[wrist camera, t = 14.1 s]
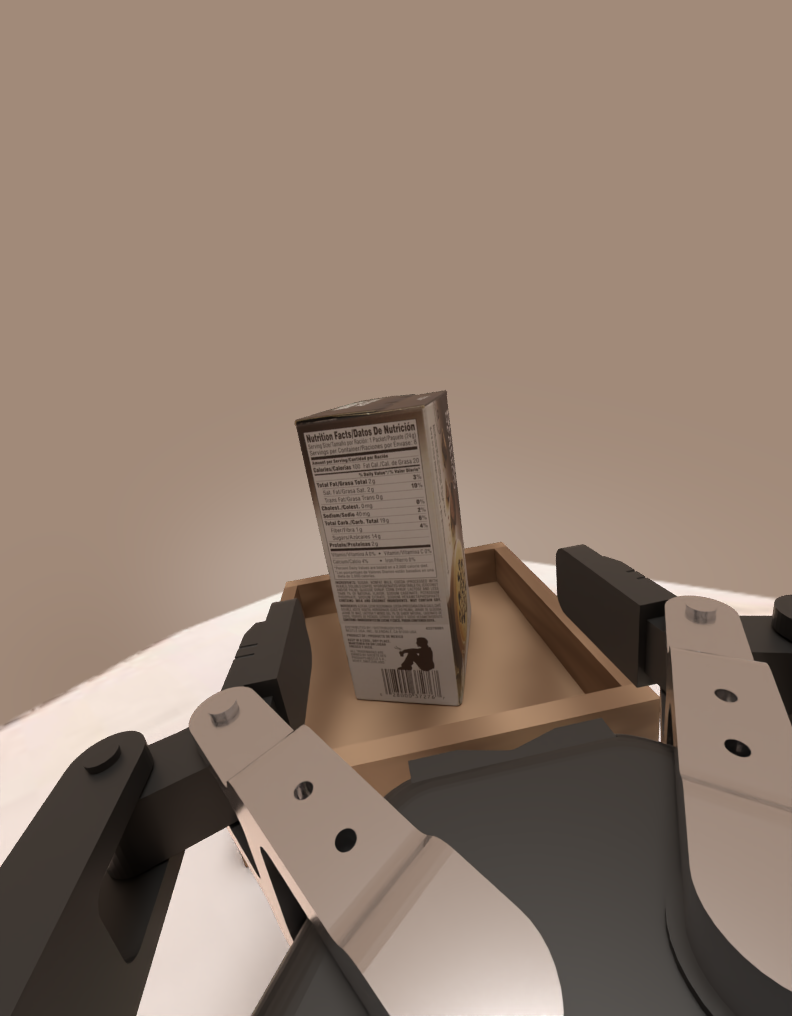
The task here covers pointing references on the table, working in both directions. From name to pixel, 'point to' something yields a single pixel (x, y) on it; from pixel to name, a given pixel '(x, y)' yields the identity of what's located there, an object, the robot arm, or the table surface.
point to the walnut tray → (472, 678)
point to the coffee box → (393, 543)
